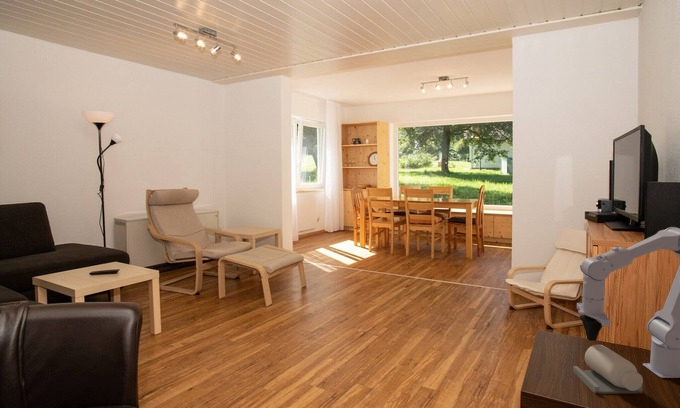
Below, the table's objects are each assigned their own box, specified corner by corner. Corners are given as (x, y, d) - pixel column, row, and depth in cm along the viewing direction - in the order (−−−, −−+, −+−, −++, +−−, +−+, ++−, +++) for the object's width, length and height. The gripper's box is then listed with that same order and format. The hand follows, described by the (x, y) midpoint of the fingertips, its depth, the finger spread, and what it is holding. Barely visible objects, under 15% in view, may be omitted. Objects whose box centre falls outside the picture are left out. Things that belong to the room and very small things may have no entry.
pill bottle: (601, 371, 128) (640, 399, 113) (579, 362, 127) (615, 389, 112) (612, 348, 127) (652, 373, 113) (590, 339, 126) (628, 363, 112)
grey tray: (616, 371, 126) (616, 365, 126) (642, 393, 115) (642, 386, 115) (572, 372, 127) (573, 366, 126) (594, 393, 115) (595, 386, 115)
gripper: (567, 289, 133) (566, 330, 135) (593, 305, 119) (591, 350, 121) (589, 289, 133) (588, 329, 135) (618, 305, 119) (616, 350, 120)
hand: (591, 339), depth 128 cm, fingers closed
